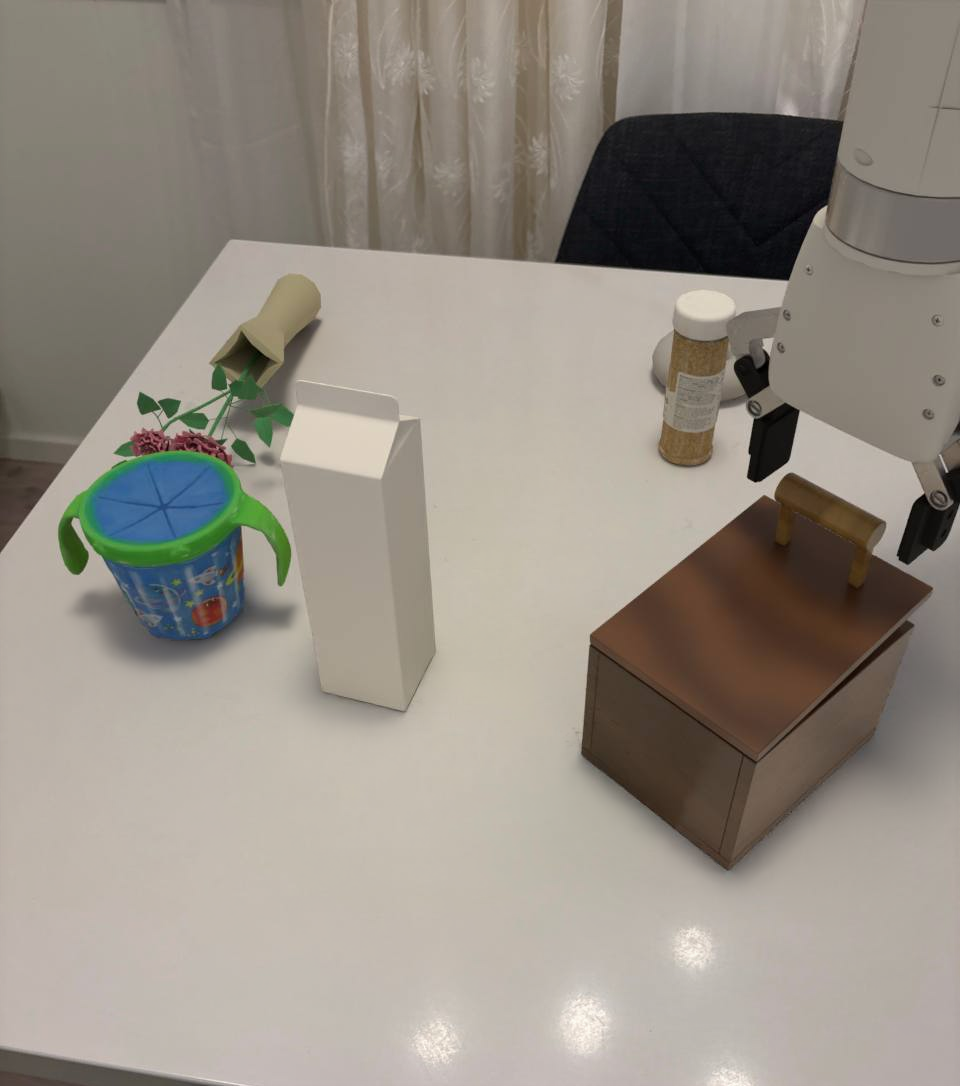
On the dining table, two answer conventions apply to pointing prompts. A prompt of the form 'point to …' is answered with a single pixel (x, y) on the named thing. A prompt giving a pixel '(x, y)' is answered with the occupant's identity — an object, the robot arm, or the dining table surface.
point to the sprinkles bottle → (695, 376)
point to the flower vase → (238, 376)
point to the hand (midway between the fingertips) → (839, 508)
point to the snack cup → (172, 539)
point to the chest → (726, 751)
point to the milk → (361, 540)
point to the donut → (662, 363)
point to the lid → (765, 615)
